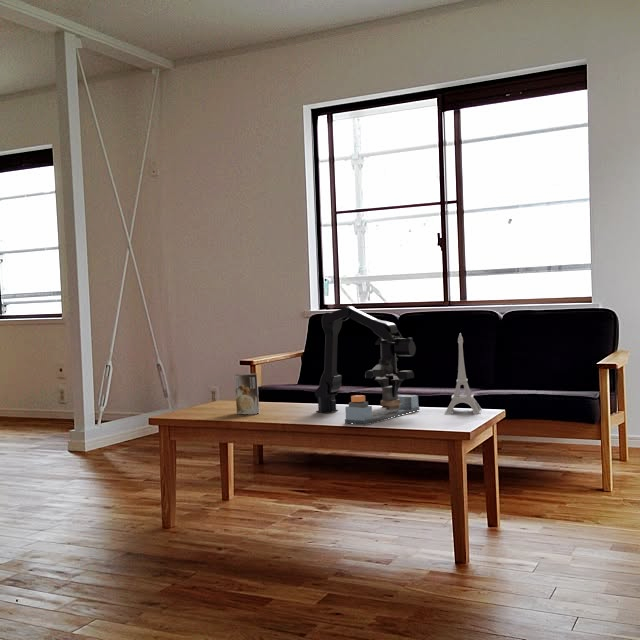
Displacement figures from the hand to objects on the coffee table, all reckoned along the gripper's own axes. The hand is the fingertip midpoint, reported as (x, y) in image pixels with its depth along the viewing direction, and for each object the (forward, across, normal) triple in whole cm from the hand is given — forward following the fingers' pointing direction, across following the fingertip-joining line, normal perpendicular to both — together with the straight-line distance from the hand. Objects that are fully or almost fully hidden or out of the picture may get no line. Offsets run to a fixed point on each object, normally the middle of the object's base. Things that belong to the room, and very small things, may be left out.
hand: (390, 397), depth 298 cm
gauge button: (-1, 0, -21) cm, 21 cm away
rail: (+7, 0, -5) cm, 8 cm away
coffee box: (+7, -57, -18) cm, 60 cm away
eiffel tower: (+7, +21, +18) cm, 29 cm away
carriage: (+4, 0, 0) cm, 4 cm away
